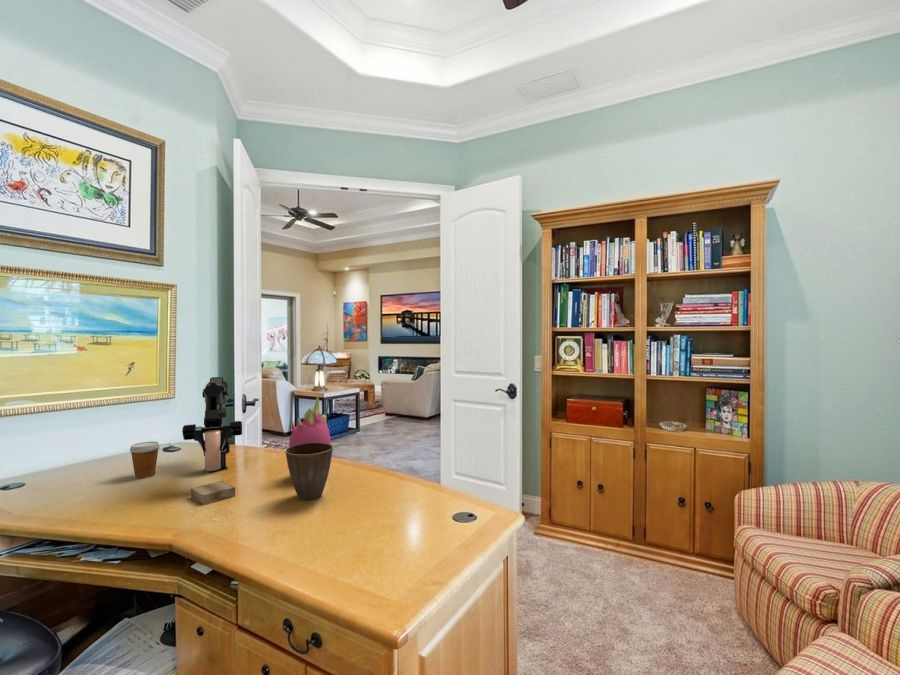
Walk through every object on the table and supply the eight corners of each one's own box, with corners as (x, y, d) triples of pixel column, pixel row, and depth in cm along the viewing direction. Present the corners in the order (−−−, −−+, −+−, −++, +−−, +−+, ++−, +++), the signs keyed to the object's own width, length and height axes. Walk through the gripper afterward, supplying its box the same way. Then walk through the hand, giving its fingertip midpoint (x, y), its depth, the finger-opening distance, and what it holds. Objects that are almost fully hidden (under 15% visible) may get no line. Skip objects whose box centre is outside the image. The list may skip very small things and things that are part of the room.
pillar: (211, 466, 159) (210, 429, 159) (223, 466, 158) (223, 430, 158) (201, 470, 154) (201, 432, 154) (214, 471, 154) (214, 433, 153)
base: (222, 489, 155) (222, 480, 155) (235, 496, 148) (235, 487, 148) (190, 497, 148) (190, 488, 147) (202, 504, 141) (202, 495, 141)
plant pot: (319, 506, 139) (319, 455, 139) (276, 503, 142) (275, 453, 142) (340, 490, 154) (340, 443, 154) (301, 487, 157) (300, 441, 157)
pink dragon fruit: (316, 467, 181) (315, 392, 180) (340, 472, 174) (340, 395, 173) (279, 479, 165) (278, 398, 165) (304, 485, 158) (304, 401, 158)
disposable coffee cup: (148, 479, 165) (148, 447, 165) (123, 479, 166) (123, 447, 166) (165, 471, 175) (165, 441, 175) (141, 471, 175) (141, 441, 175)
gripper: (182, 402, 156) (179, 441, 146) (241, 398, 164) (242, 435, 154) (185, 420, 163) (182, 458, 153) (241, 416, 171) (242, 452, 161)
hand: (212, 450), depth 155 cm, fingers closed on pillar, 5 cm apart
